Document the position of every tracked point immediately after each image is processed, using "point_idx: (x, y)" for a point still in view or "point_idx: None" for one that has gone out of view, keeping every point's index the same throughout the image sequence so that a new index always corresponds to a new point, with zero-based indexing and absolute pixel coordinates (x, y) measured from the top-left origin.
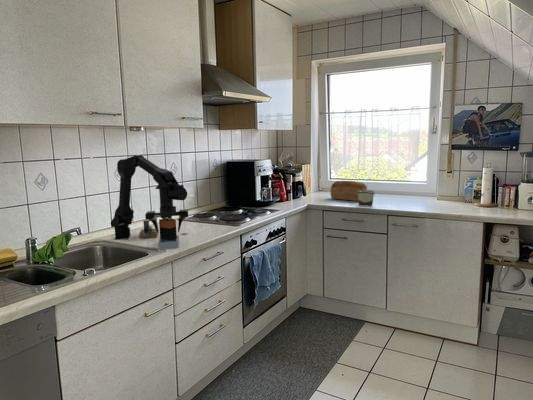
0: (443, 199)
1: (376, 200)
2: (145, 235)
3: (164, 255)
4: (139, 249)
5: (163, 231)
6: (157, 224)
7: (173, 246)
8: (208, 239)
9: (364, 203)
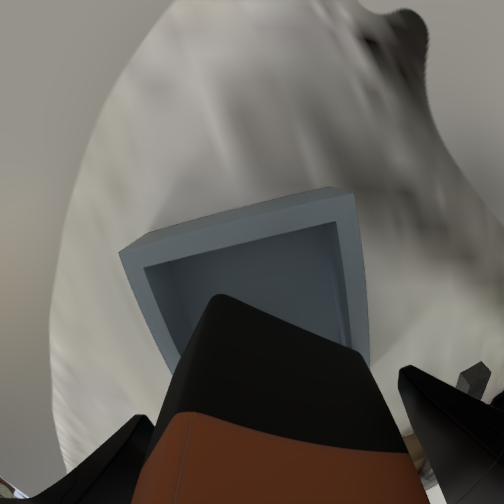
0: None
1: (16, 493)
2: (475, 376)
3: (203, 5)
4: (469, 198)
5: (337, 399)
6: (442, 477)
7: (180, 225)
8: (69, 409)
9: (6, 485)
